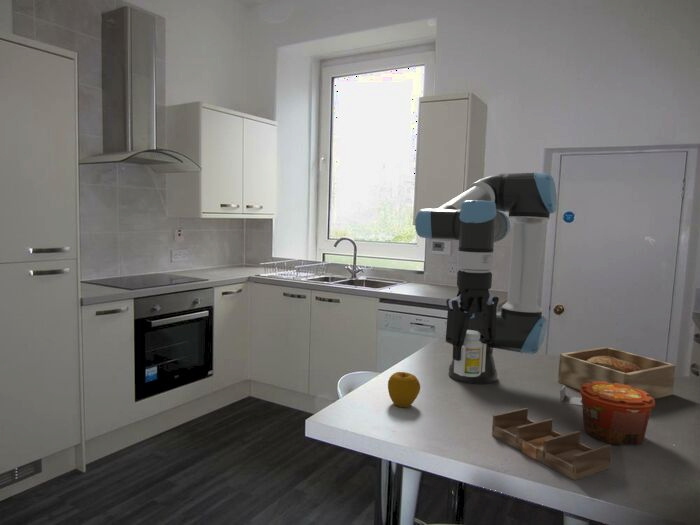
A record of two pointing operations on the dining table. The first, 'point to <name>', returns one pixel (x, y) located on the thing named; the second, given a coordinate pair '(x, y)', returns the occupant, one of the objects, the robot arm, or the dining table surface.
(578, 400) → the bracket
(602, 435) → the food container
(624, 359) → the bread crate
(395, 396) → the apple
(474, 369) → the supplement bottle
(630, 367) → the bread
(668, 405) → the dining table surface
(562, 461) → the rack
